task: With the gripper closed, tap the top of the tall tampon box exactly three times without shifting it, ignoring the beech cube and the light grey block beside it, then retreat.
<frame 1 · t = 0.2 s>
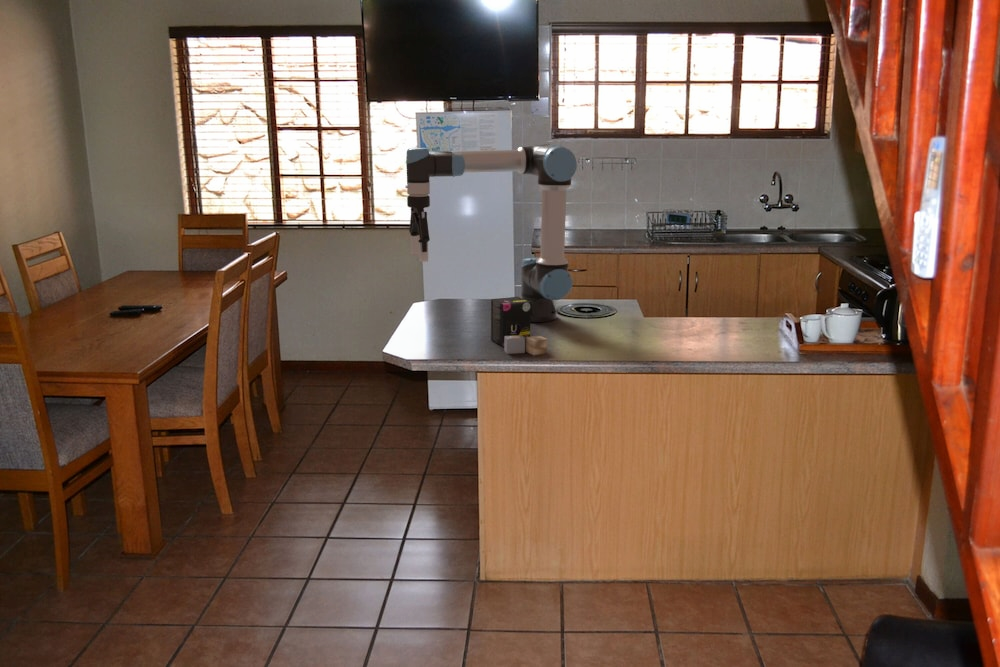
hand: (419, 258, 304), 28 cm above the countertop, fingers open, 13 cm apart
light grey block: (514, 351, 294), on the countertop
beech cube: (536, 352, 293), on the countertop
tampon box: (510, 342, 306), on the countertop
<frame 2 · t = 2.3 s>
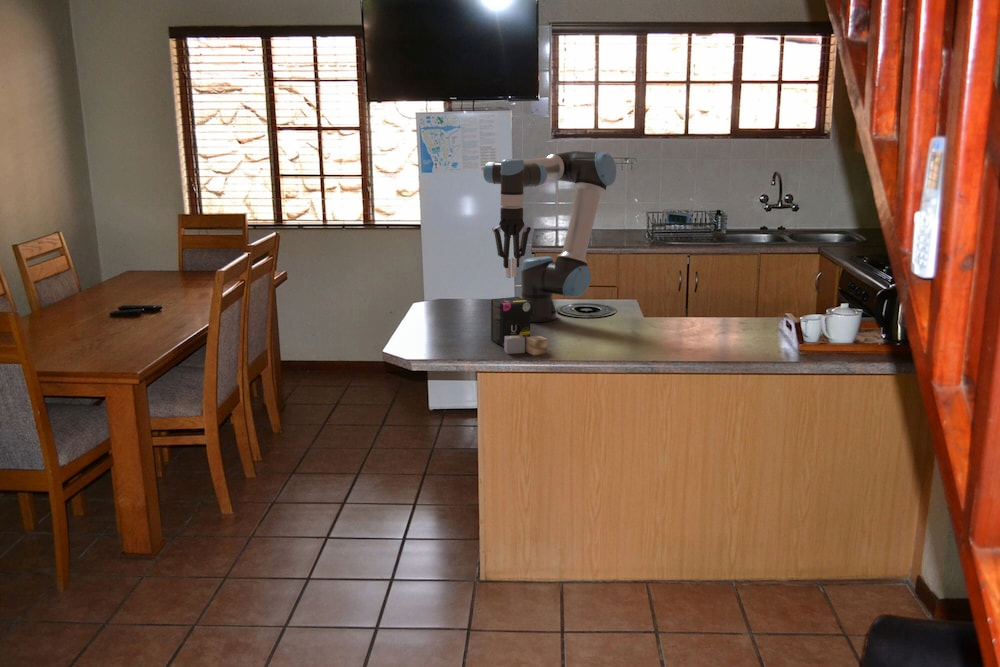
hand: (511, 277, 300), 22 cm above the countertop, fingers closed
nothing on the countertop moved.
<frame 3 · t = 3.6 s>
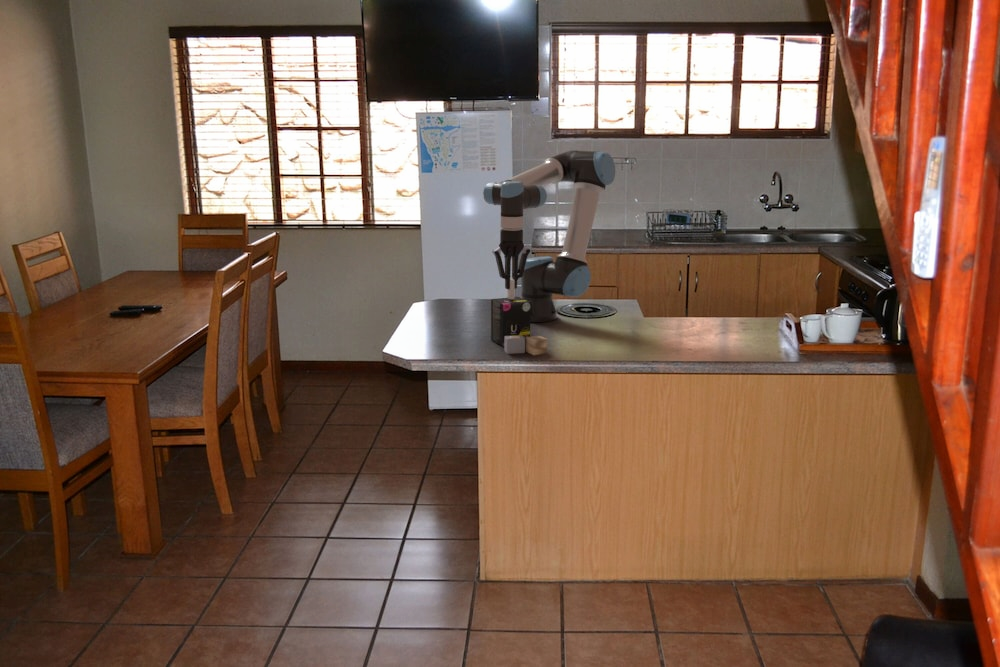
hand: (510, 298, 302), 15 cm above the countertop, fingers closed
nothing on the countertop moved.
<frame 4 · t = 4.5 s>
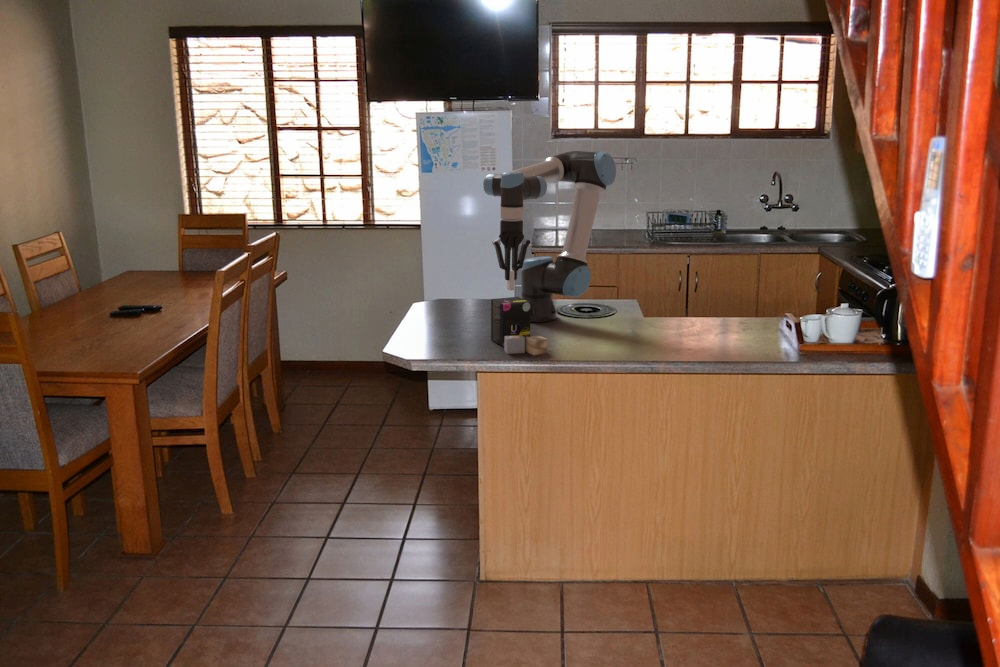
hand: (510, 289, 301), 18 cm above the countertop, fingers closed
nothing on the countertop moved.
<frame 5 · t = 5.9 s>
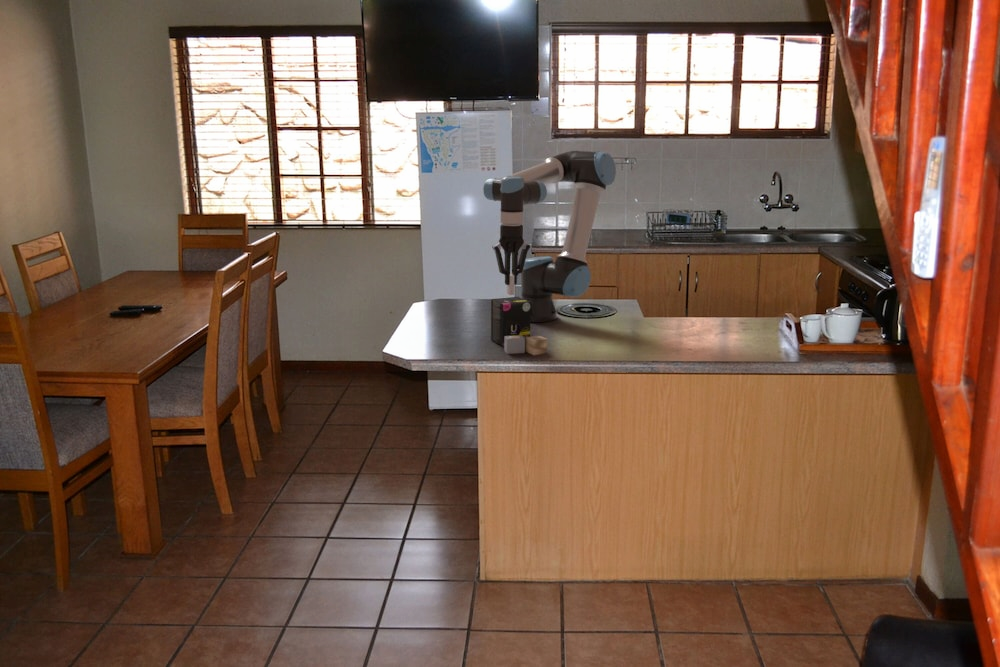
hand: (510, 294, 301), 17 cm above the countertop, fingers closed
nothing on the countertop moved.
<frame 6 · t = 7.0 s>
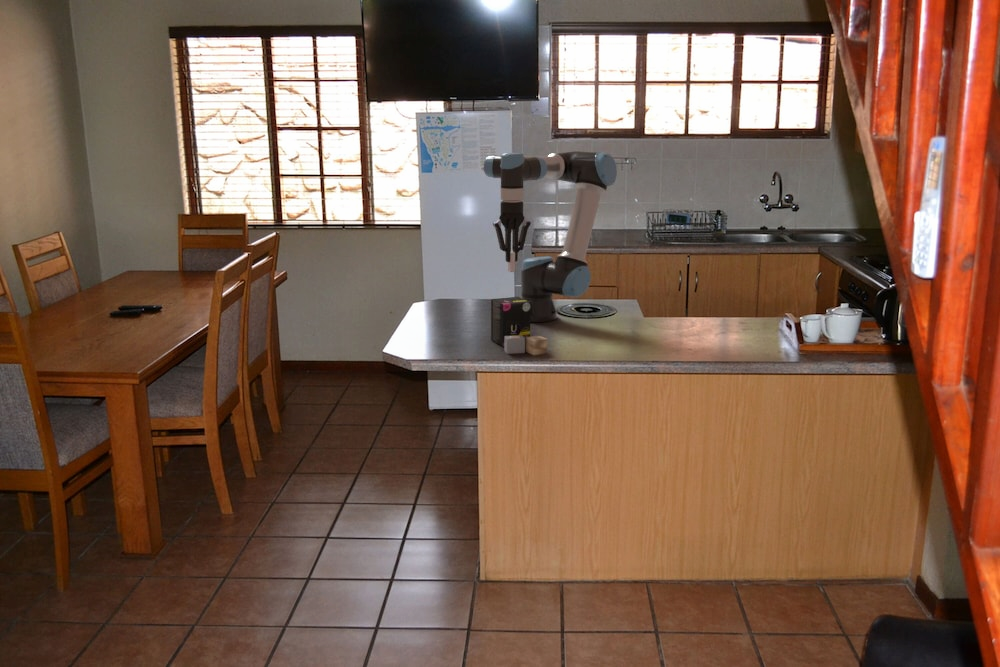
hand: (511, 271, 300), 24 cm above the countertop, fingers closed
nothing on the countertop moved.
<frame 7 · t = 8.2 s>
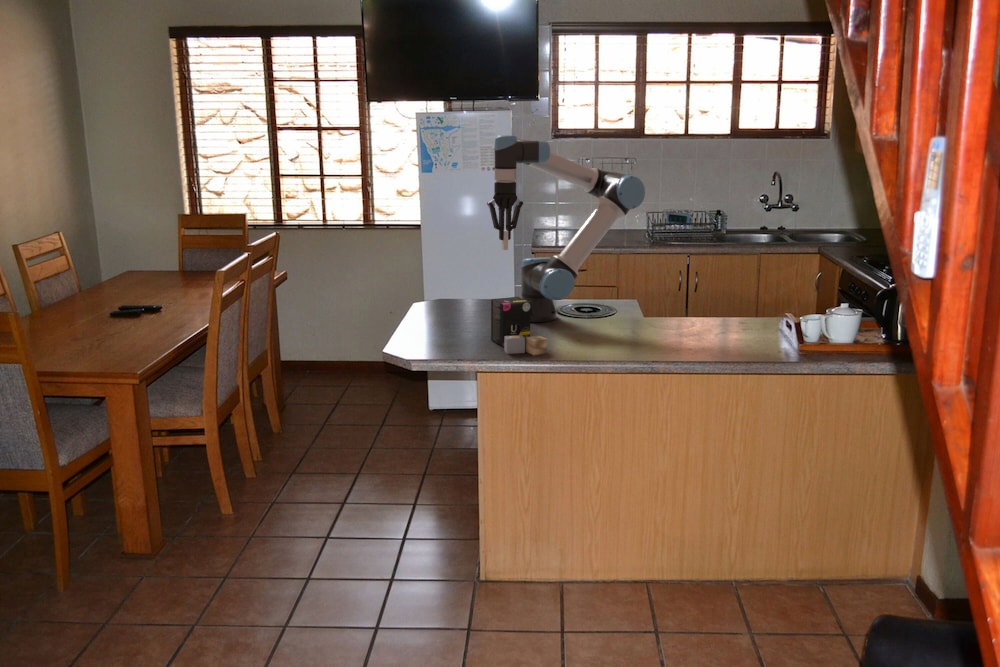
hand: (504, 249, 313), 29 cm above the countertop, fingers closed
nothing on the countertop moved.
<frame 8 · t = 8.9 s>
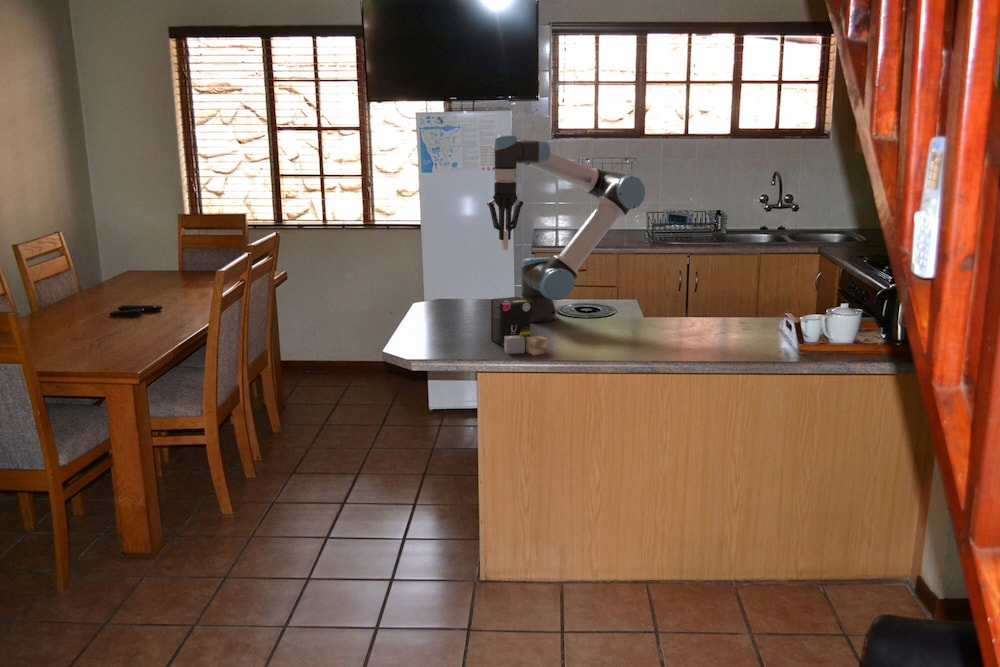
hand: (504, 249, 313), 29 cm above the countertop, fingers closed
nothing on the countertop moved.
at the end: tampon box moved 0.3 cm from its start; tampon box tilted 0°; light grey block moved 0.1 cm from its start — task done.
